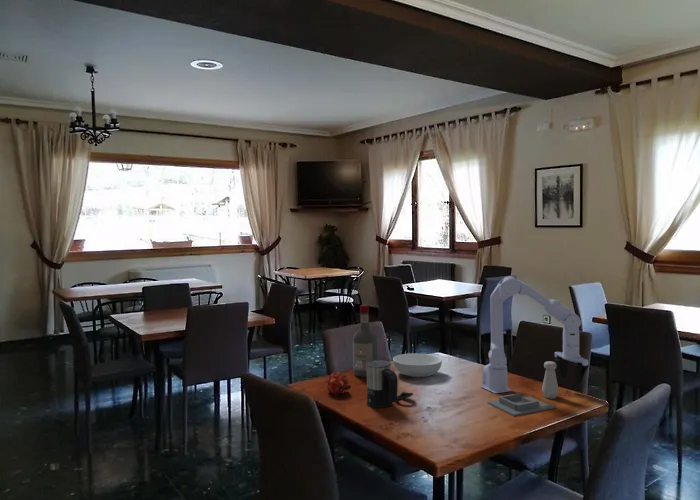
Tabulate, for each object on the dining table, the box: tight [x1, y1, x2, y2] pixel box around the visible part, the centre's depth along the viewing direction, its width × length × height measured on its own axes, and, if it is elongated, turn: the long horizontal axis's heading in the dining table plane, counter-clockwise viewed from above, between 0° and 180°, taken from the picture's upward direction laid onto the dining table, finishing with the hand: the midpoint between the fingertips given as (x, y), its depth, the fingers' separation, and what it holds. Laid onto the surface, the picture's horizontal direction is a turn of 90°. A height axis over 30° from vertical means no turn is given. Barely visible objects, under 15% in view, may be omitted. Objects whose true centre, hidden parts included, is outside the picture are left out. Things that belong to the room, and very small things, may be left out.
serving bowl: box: [392, 352, 443, 378], centre depth 225 cm, size 21×21×7 cm
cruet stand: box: [487, 392, 557, 417], centre depth 184 cm, size 14×18×3 cm
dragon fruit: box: [326, 371, 352, 396], centre depth 202 cm, size 8×8×12 cm
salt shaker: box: [541, 360, 560, 400], centre depth 193 cm, size 6×6×13 cm
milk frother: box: [366, 359, 414, 408], centre depth 190 cm, size 14×16×15 cm
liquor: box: [352, 304, 378, 378], centre depth 226 cm, size 9×9×30 cm
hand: (570, 380), depth 197 cm, fingers open, 7 cm apart
